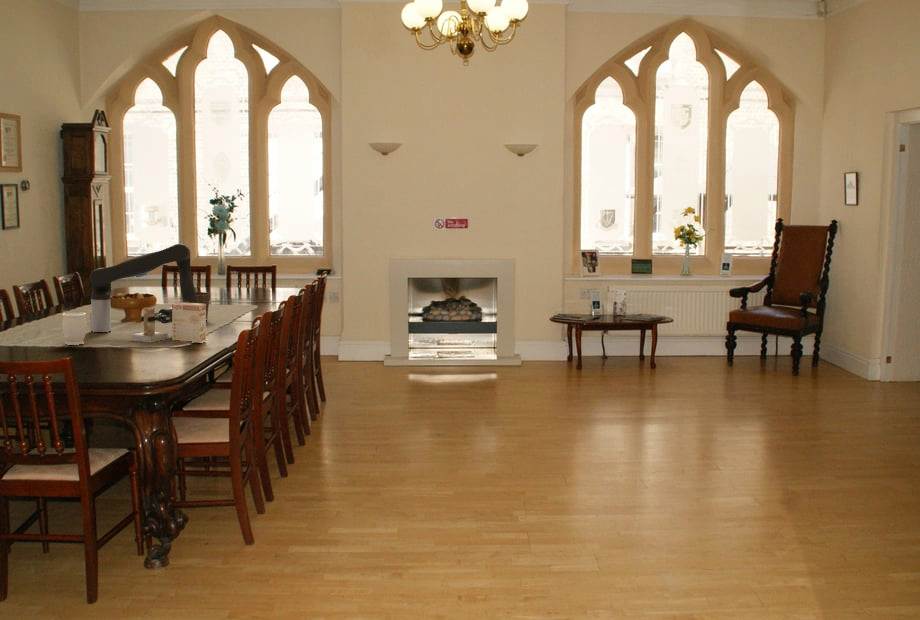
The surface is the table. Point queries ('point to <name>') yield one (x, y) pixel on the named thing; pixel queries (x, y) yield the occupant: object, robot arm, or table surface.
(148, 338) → the socket block
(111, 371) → the table surface
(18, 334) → the table surface
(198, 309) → the coffeecake box
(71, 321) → the jar
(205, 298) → the plant pot
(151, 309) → the peg
